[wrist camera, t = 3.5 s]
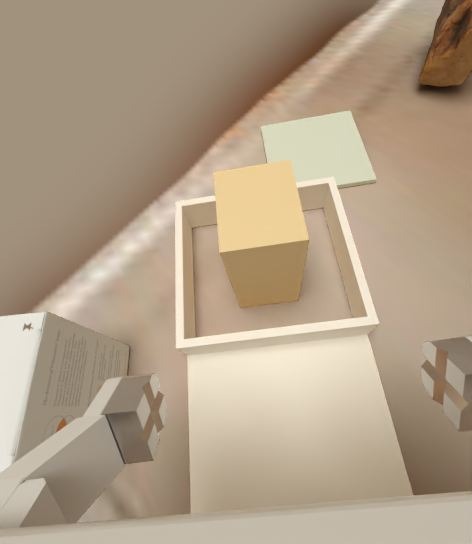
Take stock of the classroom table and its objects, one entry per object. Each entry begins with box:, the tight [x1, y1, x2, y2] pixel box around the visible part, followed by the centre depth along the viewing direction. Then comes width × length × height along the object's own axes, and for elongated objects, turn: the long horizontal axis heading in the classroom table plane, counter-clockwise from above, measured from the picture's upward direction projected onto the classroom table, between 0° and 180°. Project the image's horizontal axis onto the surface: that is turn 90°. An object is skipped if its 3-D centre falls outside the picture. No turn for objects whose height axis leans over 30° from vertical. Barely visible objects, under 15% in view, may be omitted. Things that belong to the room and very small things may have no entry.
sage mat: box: [261, 111, 377, 188], centre depth 32 cm, size 10×10×1 cm
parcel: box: [213, 159, 309, 308], centre depth 22 cm, size 5×6×10 cm
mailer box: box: [175, 176, 413, 513], centre depth 22 cm, size 14×26×4 cm, turn 5°
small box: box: [0, 312, 129, 473], centre depth 19 cm, size 8×6×10 cm
